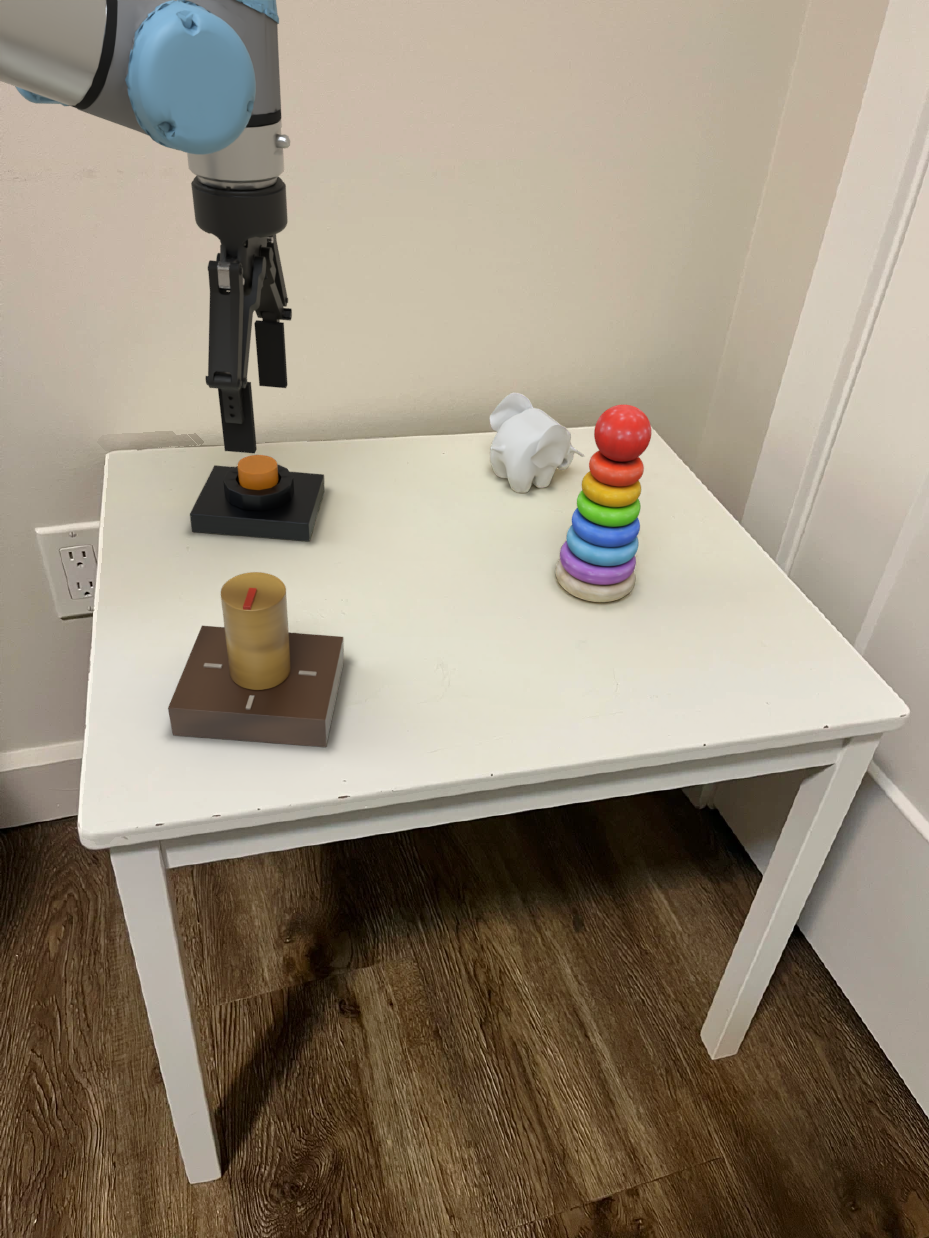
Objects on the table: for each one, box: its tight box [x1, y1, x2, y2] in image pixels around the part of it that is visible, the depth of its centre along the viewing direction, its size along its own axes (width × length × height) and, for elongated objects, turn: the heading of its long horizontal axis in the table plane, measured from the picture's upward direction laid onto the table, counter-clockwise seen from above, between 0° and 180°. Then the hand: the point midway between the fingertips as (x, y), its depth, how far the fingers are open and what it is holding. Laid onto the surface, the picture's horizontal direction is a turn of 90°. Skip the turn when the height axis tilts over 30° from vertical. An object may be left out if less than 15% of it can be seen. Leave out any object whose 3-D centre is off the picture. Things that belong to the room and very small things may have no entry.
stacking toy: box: [555, 404, 652, 603], centre depth 86 cm, size 8×8×19 cm
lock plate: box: [167, 625, 345, 748], centre depth 74 cm, size 12×10×3 cm
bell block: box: [189, 463, 325, 542], centre depth 96 cm, size 12×10×4 cm
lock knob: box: [220, 571, 291, 690], centre depth 71 cm, size 5×5×8 cm
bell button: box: [237, 454, 278, 490], centre depth 94 cm, size 4×4×2 cm
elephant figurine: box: [489, 391, 586, 494], centre depth 104 cm, size 10×12×9 cm
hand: (258, 416), depth 87 cm, fingers open, 13 cm apart
